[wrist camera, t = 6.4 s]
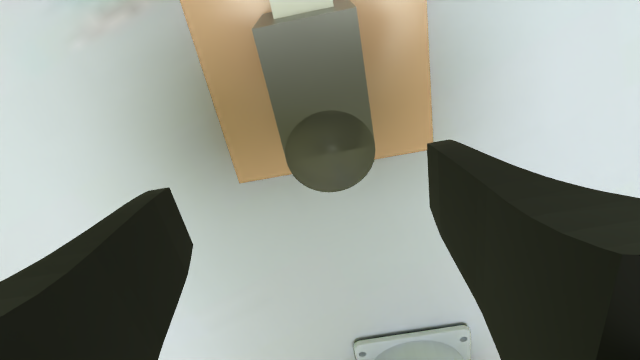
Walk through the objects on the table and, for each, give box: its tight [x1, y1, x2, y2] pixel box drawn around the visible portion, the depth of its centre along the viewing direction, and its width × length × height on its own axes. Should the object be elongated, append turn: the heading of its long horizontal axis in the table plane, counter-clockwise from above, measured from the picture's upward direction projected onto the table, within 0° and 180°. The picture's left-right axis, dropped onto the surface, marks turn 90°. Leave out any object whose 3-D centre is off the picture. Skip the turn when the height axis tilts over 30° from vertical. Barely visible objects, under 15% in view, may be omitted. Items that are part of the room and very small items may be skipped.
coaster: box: [180, 0, 433, 183], centre depth 18 cm, size 10×10×1 cm
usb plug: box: [252, 0, 375, 192], centre depth 16 cm, size 9×4×4 cm, turn 11°
